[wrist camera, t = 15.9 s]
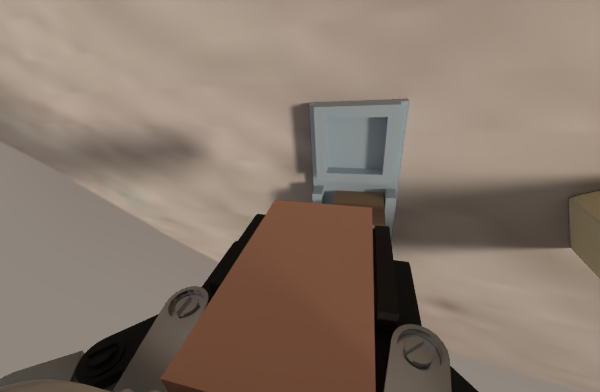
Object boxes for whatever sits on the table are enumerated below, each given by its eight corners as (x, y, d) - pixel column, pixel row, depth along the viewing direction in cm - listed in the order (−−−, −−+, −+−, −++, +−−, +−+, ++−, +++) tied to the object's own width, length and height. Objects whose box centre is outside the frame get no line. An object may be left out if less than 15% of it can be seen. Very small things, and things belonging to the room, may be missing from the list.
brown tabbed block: (336, 190, 28) (326, 227, 22) (383, 192, 27) (386, 232, 21) (336, 265, 34) (329, 311, 28) (375, 270, 32) (376, 319, 27)
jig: (311, 102, 25) (304, 108, 23) (408, 98, 23) (412, 105, 20) (319, 267, 36) (315, 283, 34) (385, 275, 34) (386, 293, 31)
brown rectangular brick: (275, 199, 11) (160, 378, 5) (372, 207, 10) (376, 439, 4) (282, 268, 13) (207, 456, 7) (364, 280, 12) (359, 509, 6)
